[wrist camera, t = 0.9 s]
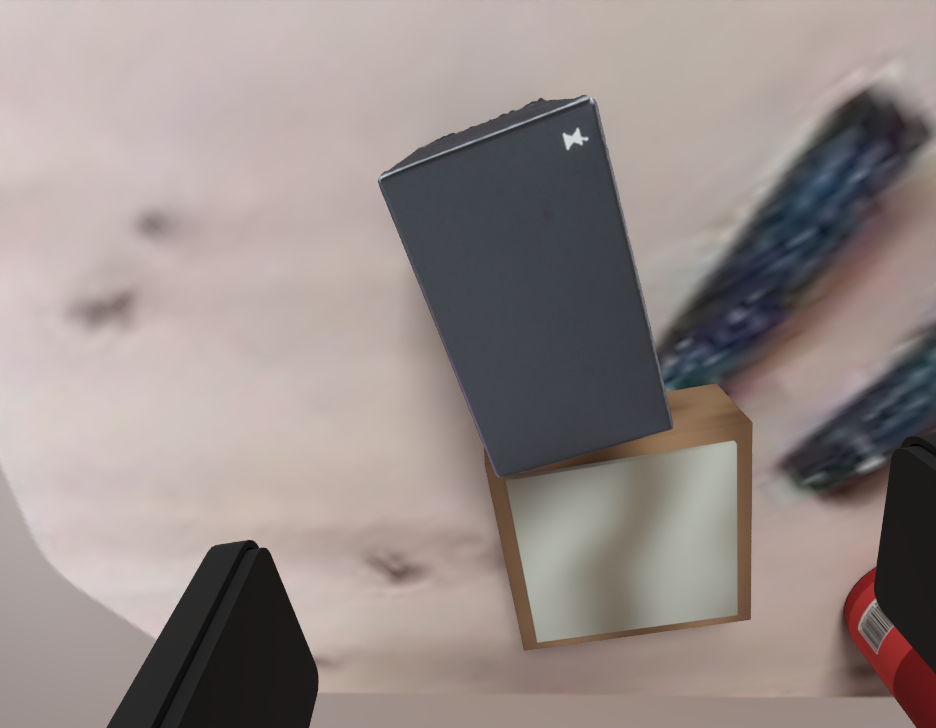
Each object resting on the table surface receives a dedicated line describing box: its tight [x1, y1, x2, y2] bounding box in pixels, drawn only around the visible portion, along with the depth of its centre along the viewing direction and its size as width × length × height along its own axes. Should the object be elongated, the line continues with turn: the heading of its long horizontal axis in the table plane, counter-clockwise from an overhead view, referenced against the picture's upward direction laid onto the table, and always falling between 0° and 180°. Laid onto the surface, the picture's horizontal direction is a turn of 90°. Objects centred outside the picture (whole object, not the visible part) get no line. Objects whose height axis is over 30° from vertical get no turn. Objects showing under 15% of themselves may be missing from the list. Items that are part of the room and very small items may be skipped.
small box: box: [378, 95, 673, 477], centre depth 21 cm, size 11×6×10 cm, turn 20°
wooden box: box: [484, 384, 752, 651], centre depth 30 cm, size 12×12×4 cm
